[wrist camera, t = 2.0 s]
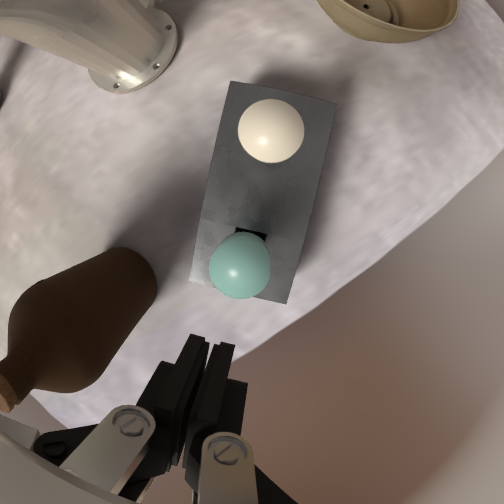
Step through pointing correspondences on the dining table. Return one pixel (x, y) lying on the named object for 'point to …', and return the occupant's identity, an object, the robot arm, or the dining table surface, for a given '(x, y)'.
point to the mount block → (262, 188)
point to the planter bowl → (391, 18)
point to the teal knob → (240, 265)
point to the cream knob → (271, 130)
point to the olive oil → (74, 324)
